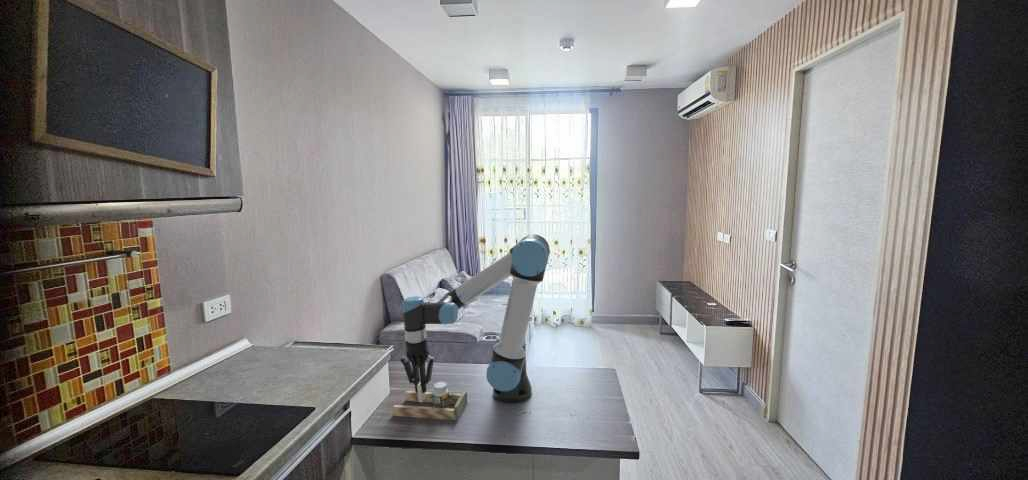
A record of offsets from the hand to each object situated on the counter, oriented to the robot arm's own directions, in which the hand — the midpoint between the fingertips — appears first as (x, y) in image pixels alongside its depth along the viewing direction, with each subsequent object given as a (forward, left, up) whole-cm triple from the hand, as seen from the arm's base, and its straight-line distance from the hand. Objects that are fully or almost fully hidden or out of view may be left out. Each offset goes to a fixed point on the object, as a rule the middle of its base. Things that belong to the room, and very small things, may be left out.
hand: (421, 400), depth 147 cm
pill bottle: (-8, 0, -4) cm, 8 cm away
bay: (-3, 0, -3) cm, 5 cm away
